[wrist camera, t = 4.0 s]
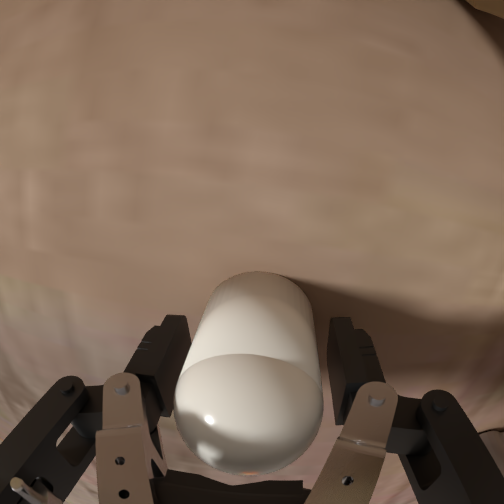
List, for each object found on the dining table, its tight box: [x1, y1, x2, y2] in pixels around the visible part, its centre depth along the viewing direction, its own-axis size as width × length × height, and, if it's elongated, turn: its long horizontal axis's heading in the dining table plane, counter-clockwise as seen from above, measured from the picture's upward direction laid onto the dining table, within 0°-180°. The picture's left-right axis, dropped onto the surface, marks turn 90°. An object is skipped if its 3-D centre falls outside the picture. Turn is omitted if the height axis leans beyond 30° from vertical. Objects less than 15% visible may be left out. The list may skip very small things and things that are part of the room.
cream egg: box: [173, 272, 323, 476], centre depth 10 cm, size 5×5×7 cm
